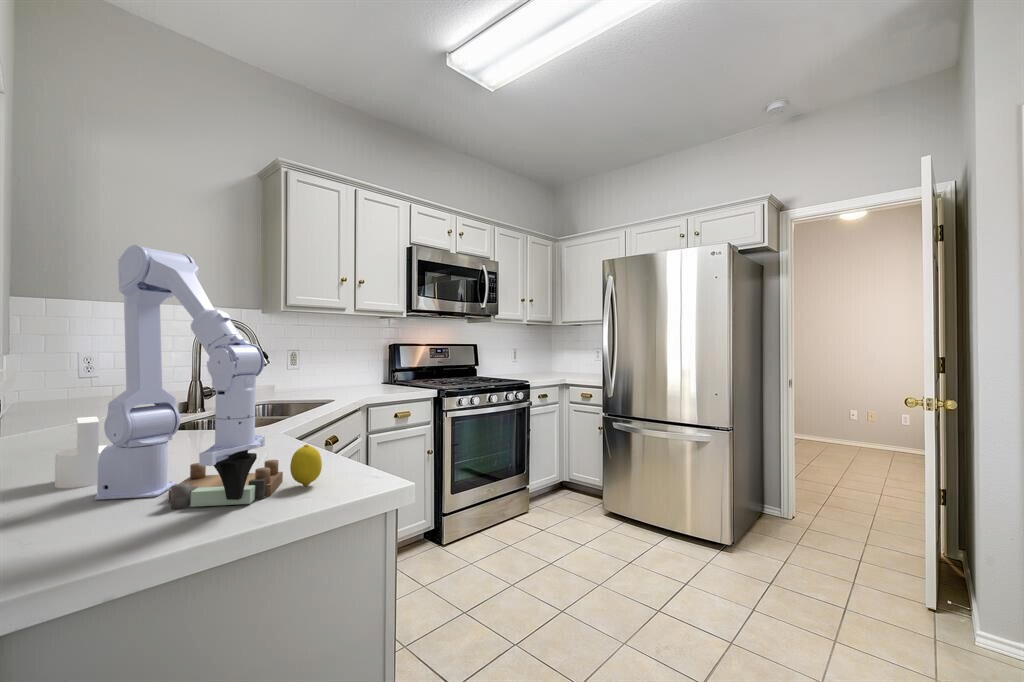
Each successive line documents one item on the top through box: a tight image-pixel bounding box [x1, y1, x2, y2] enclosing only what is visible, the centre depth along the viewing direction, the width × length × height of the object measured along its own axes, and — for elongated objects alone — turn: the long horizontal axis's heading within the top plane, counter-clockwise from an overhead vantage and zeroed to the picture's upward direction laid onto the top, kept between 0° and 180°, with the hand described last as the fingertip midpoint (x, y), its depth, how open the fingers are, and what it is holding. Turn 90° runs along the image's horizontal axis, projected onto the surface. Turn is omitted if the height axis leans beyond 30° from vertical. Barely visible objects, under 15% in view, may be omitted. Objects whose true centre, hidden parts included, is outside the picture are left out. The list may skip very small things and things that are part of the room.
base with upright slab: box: [54, 416, 107, 489], centre depth 93 cm, size 9×9×12 cm
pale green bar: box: [190, 485, 255, 508], centre depth 80 cm, size 9×2×2 cm, turn 101°
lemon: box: [289, 444, 323, 487], centre depth 91 cm, size 6×6×8 cm
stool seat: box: [167, 459, 284, 510], centre depth 85 cm, size 16×13×4 cm
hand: (234, 498), depth 78 cm, fingers closed
